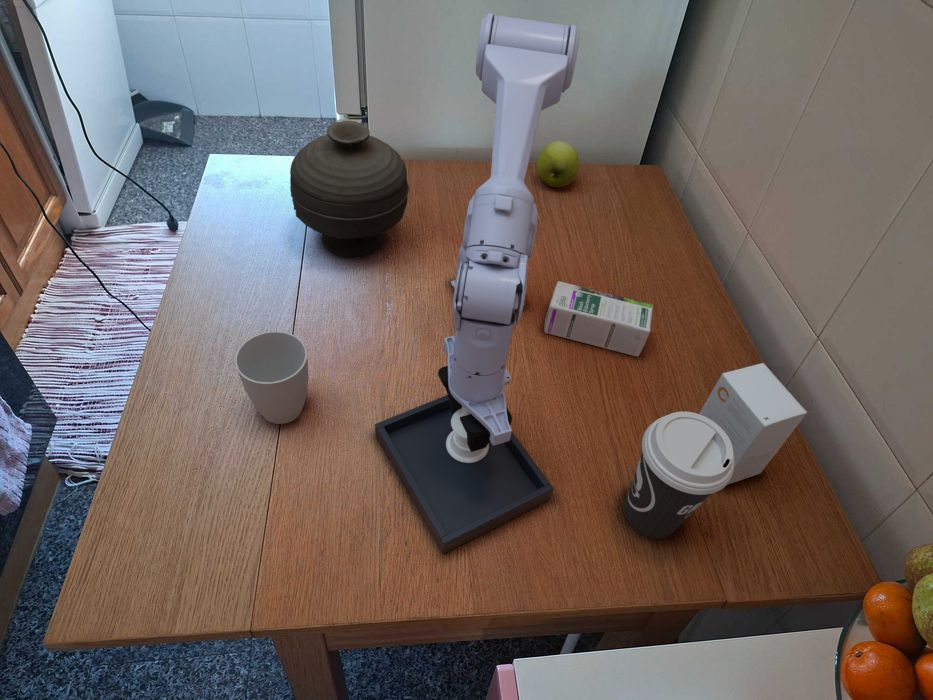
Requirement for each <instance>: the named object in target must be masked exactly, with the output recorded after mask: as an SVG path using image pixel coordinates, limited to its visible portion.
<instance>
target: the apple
mask: <svg viewBox="0 0 933 700" xmlns="http://www.w3.org/2000/svg"><path fill="white" fill-rule="evenodd" d="M579 169H580V157H579V153H578V152H577V150H576V148H575V147H574V146H572V144H570V143H568V142H566V141H561V140H554V141H551V142H550V143H548V144H547V145H545V146H544V147H543V148H542V149H541V151H540V152H539V155H538V157H537V161H536V171H537V175H538V177H539V178H540V179H541V180H542V181H543V182H544V183H545V184H546V185H548V186H549V187H552V188H562V187H565V186H568V185H570V184H571V183H572V182H573V181H574V180H575V178H576V177H577V175H578V172H579Z"/></svg>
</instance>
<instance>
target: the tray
mask: <svg viewBox="0 0 933 700" xmlns="http://www.w3.org/2000/svg"><path fill="white" fill-rule="evenodd" d="M452 416H453V414H452V412H451V408H450V404H449V399H448V394H446V395H444V396H441V397H439V398H436V399H434V400H431V401H429V402H426V403H424V404H421V405H418V406H416V407H414V408H410V409H409V410H406V411H404V412H401V413H399V414H396V415H394V416H392V417H389V418H387V419H383V420H381V421H378V422H377V423H374V435H375V438H376V441H377V442H378V443H379V445H380V447H381V449H382V450H383V452H384V454H385V455H386V457H387V459H388V461H389V462H390V464H391V466H392V467H393V470H394V471H395V473H396V475H397V477H398V478H399V480H400V482H401V484H402V485H403V487H404V489H405V491H406V492H407V494H408V496H409V497H410V499H411V501H412V503H413V505H414V506H415V508H416V510H417V512H418V513H419V515H420V517H421V518H422V520H423V522H424V524H425V526H426V527H427V529H428V530H429V532H430V535H431V536H432V537H433V539H434V541H435V543H436V545H437V546H438V548H439V550H440V551H441V554H442V555H444V554H446V553H448V552H449V551H452V550H454V549H455V548H458V547H460V546H461V545H464V544H466V543H467V542H469V541H471V540H474V539H475V538H477V537H479V536H481V535H483V534H485V533H487V532H489V531H491V530H493V529H495V528H497V527H499V526H501V525H502V524H504V523H507V522H508V521H510V520H512V519H514V518H517V517H518V516H520V515H522V514H524V513H526V512H529V511H530V510H532V509H534V508H536V507H537V506H539V505H543V504H544V503H546V502H547V501H549V500H551V497H552V494H553V491H554V486H553V485H552V484H551V483H550V481H549V479H547V477H546V476H545V474H544V473H543V472H542V470H541V469H540V467H539V466H538V464H537V463H536V462H535V460H534V459H533V458H532V456H531V455H530V454H529V452H528V451H527V450H526V448H525V447H524V446H523V444H522V443H521V441H520V440H519V439H518V437H517V436H516V435H515V433H514V432H513V431H512V433H511V437H510V441H507V442H504V443H501V444H498V445H494V446H493V445H492V443H491V441H490V442H489V449H488V452H487V454H486V455H485V457H484V458H482V459H481V460H479V461H477V462H474V463H463V462H460V461H458V460H456V459H454V458H453V457H452V456H451V455H450V454H449V452H448V451H447V448H446V440H447V437H448V435H449V434H450V433H451V432H452V431H453V428H452V426H451V418H452Z"/></svg>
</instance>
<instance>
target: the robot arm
mask: <svg viewBox="0 0 933 700" xmlns="http://www.w3.org/2000/svg"><path fill="white" fill-rule="evenodd" d="M577 27H578V26H577V25H576V24H573V23H572V24H569V25H567V24H561V23H553V22H546V21H538V20H532V19H525V18H518V17H511V16H505V15H497V14H496V15H495V14H494V12H488V13H487V14H486V15H485V16H484V17H483V18H482V19H481V24H480V29H479V34H478V35H479V36H478V41H477V42H478V43H477V50H476V59H475V75H476V76H477V78H478V79H479V81H480V82H481V92H482V94H484V96H486V97H487V98H489V100H491V101H492V102H493V103H494V104H495V115H494V126H493V127H494V129H493V141H492V155H491V167H490V168H491V169H490V177H489V178H488V179H487V180H486V181H485V182H484V183H482V184H481V185H480V186H479V187H478V188H477V189H476V190H475V192H474V195H472V196H471V199H470V200H469V201H468V206H467V211H466V215H465V220H464V227H463V228H464V229H463V234H462V237H463V238H462V244H461V245H460V247H459V250H458V254H457V257H458V258H457V265H456V275H455V279H453V280H451V281H450V285H451V287H452V288H453V290H454V291H453V301H452V307H453V317H454V323H453V329H454V330H455V335H451V336H447V337H444V338H443V352H444V353H445V355H447V356H446V357H447V365H445V366H442V367H440V368H439V369H438V370H437V375H438V378H439V380H440V382H441V385H443V387H444V388H445V391H446V395H448V399H449V404H450V408H451V412H452V414H454V413H455V412H456V411H457V410H459V409H461V408H462V406H463V407H464V408H465V409H466V410H467V411H469V412H470V413H471V414H469V415H465V416H462V417H460V421H461V423H462V425H463V427H464V429H465V431H466V433H467V444H468V447H469V449H470V451H471V452H473V451H476V450H480V449H483V448H486V446H487V445H488V443H489V442H490V441H491V443H492V445H493V446H494V445H498V444H501V443H504V442H507V441H510V437H511V433H512V432H513V430H512V427H511V425H512V422H513V415H512V414H511V412H510V410H509V408H508V407H507V401H506V391H505V390H506V389H505V386H506V385H509V384H511V382H512V376H511V374H510V372H509V371H508V369H507V364H508V358H509V352H510V347H511V344H512V343H511V342H512V337H513V333H514V328H515V325H516V326H518V325H519V322H520V320H521V318H522V315H523V311H524V307H525V301H526V294H527V285H528V260H529V259H531V258H532V256H533V251H534V246H535V241H536V240H535V239H536V233H537V227H538V216H539V210H538V207H537V204H536V203H535V198H534V196H533V194H532V193H531V191H530V189H529V188H528V186H527V185H526V183H525V179H526V175H527V171H528V167H529V162H530V159H531V154H532V151H533V146H534V142H535V138H536V134H537V129H538V126H539V125H538V124H539V121H540V116H541V112H542V111H543V110H546V109H547V108H550V107H552V106H554V105H557V104H558V103H560V100H561V97H562V94H563V93H565V92H566V91H567V90H568V89H570V88H571V85H572V81H573V77H574V72H575V68H576V63H577V57H578V53H579V45H580V38H581V37H580V35H581V33H580V30H579V29H578V28H577ZM515 311H516V312H515Z"/></svg>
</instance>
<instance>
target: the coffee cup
mask: <svg viewBox="0 0 933 700" xmlns="http://www.w3.org/2000/svg"><path fill="white" fill-rule="evenodd" d="M641 451H642V452H641V454H640V457H639V461H638V463H637V466H636V468H635V472H634V474H633V477H632V480H631V483H630V486H629V488H628V491H627V494H626V497H625V500H624V504H623V513H624V517H625V520H626V521H627V523H628V524H629V525H630V527H631V528H632V529H633V530H634V531H635V532H636V533H638V534H640V535H641V536H643V537H646V538H648V539H652V540H661V539H666V538H668V537H671V536H672V535H673V534H674V533H675V532H676V531H677V530H678V528H679V527H681V526H682V525H683V524H684V523H685V521H687V519H689V517H690V516H691V515H692V514H693V513H694V512H695V511H696V510H697V509H698V508H699V507H700V506H701V505H702V504H703V503H704V502H705V501H706V500H707V499H708V498H709V497H710V496H711V495H712V494H714V493H717V492H720V491H722V490H723V489H724V488H726V487H727V484H728V483H729V481H730V480H731V478H732V475H733V471H734V454H733V447H732V444H731V441H730V439H729V437H728V436H727V434H726V433H725V432H724V430H723V429H722V428H721V427H720V426H719V425H717V424H716V423H715V422H713V421H712V420H710V419H709V418H707V417H705V416H702V415H700V414H699V413H696V412H692V411H676V412H672V413H668V414H667V415H663V416H661V417H660V418H658V419H656V420H654V421H653V422H652V423H651V424H650V425H648V427H646V428H645V431H644V432H643V435H642V439H641ZM728 485H729V484H728Z"/></svg>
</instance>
